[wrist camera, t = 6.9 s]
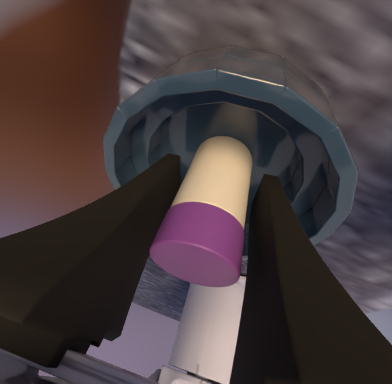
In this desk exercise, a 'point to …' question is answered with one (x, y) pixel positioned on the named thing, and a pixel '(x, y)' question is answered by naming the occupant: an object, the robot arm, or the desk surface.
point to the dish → (241, 130)
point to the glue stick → (207, 217)
